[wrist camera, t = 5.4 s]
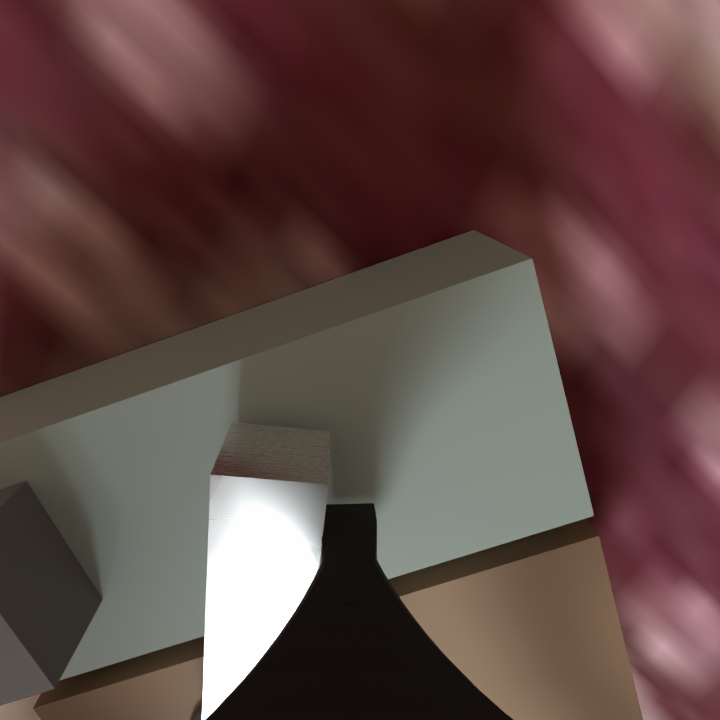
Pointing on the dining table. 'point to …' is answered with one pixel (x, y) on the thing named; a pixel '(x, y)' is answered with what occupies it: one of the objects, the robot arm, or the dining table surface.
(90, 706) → the jamb
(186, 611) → the grey-green rectangular block
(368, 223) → the dining table surface
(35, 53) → the dining table surface
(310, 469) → the lock bar
